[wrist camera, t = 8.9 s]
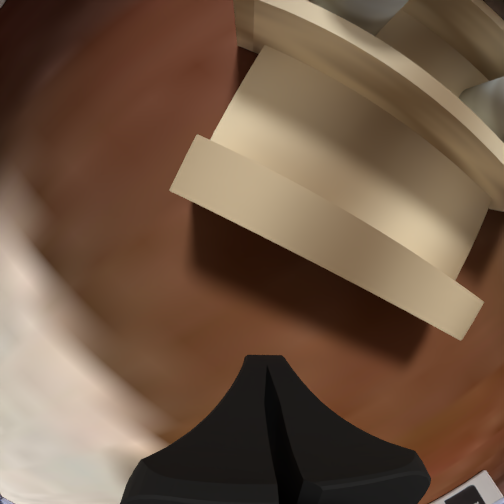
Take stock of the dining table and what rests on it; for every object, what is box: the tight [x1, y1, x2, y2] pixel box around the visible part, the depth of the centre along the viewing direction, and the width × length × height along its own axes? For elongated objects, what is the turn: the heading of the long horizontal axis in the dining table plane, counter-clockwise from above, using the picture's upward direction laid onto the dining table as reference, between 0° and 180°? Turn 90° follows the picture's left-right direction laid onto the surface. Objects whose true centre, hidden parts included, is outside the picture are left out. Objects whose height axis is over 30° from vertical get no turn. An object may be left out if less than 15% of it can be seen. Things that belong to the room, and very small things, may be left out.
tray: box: [169, 0, 504, 341], centre depth 7 cm, size 12×11×5 cm
